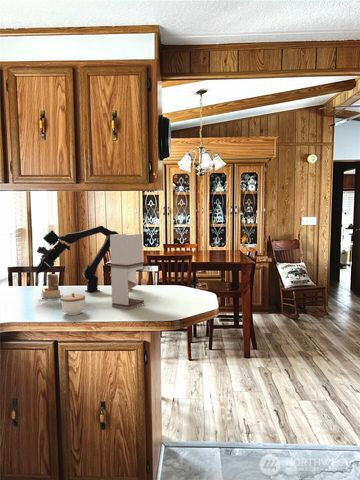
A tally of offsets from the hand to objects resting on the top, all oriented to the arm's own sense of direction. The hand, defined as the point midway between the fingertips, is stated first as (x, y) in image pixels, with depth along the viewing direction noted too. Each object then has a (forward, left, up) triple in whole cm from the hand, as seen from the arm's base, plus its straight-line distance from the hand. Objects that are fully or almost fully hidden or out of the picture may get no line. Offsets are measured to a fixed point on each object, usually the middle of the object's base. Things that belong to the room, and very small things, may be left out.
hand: (36, 271), depth 201 cm
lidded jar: (-46, +4, -14) cm, 49 cm away
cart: (-3, -8, -13) cm, 16 cm away
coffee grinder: (-54, -21, -14) cm, 60 cm away
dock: (-3, -7, -14) cm, 16 cm away
